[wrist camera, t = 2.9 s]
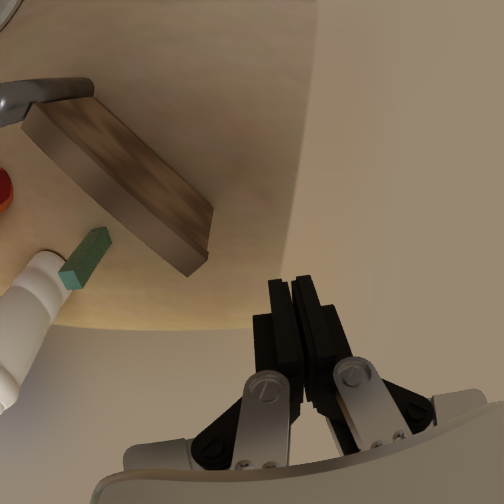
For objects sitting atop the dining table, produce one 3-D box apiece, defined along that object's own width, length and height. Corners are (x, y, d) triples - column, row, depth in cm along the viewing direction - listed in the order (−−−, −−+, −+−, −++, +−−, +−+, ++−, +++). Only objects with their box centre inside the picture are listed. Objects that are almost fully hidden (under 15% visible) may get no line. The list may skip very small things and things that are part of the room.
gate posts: (68, 81, 18) (-19, 92, 8) (93, 74, 19) (8, 76, 8) (94, 245, 28) (45, 320, 18) (117, 244, 28) (71, 323, 18)
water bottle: (75, 257, 29) (-24, 444, 7) (77, 299, 32) (8, 466, 11) (32, 241, 27) (-75, 399, 6) (37, 283, 30) (-42, 431, 9)
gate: (81, 111, 20) (20, 127, 12) (93, 94, 19) (33, 103, 11) (200, 220, 26) (187, 277, 19) (215, 206, 26) (207, 260, 18)
